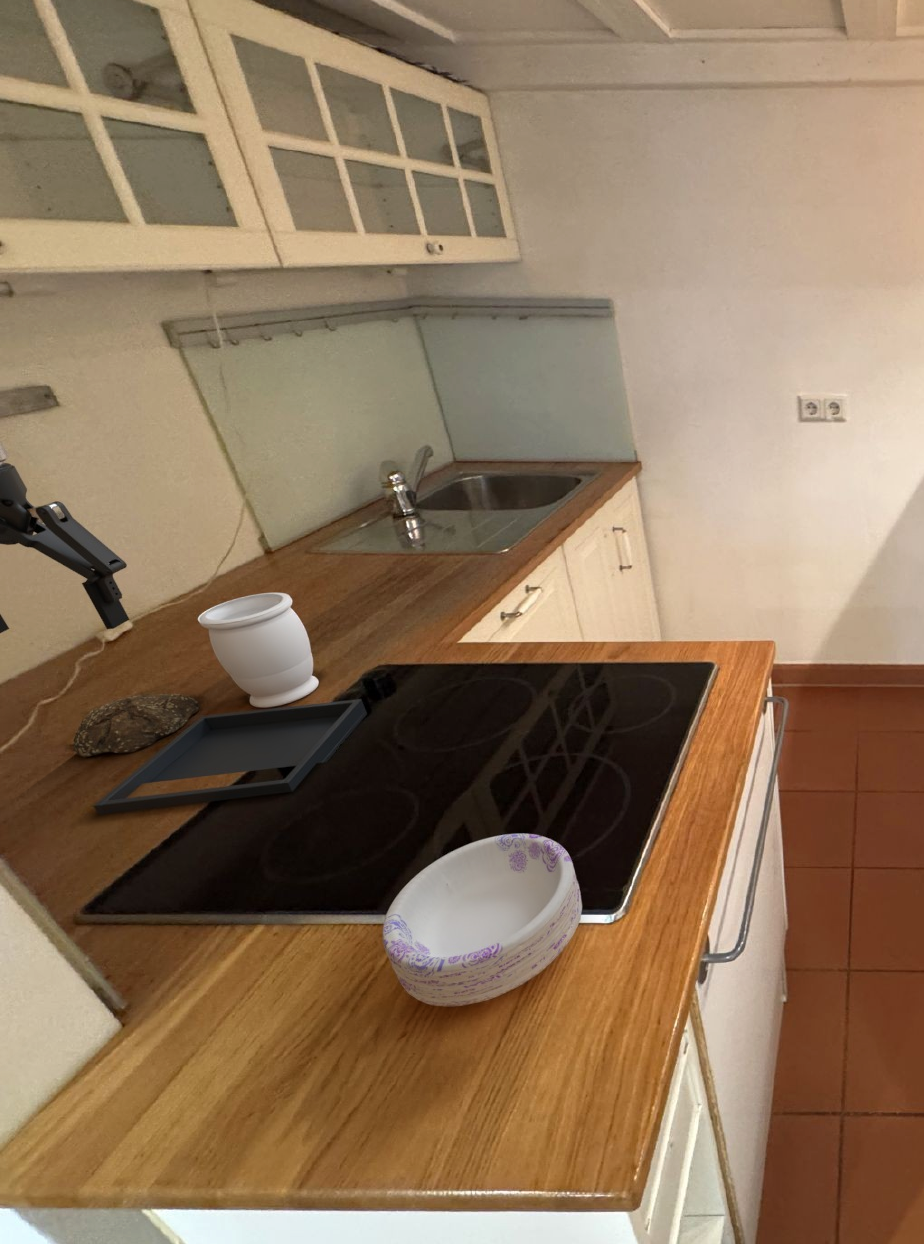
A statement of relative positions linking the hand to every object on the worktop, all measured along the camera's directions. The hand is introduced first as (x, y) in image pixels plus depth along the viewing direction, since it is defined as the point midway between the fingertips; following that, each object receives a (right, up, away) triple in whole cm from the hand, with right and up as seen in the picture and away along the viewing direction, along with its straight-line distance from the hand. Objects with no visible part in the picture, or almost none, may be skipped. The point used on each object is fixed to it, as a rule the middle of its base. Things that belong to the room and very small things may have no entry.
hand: (58, 629), depth 90 cm
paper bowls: (+71, -30, -25) cm, 81 cm away
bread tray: (+24, -18, +2) cm, 30 cm away
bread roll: (+1, -15, +9) cm, 17 cm away
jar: (+15, -11, +17) cm, 25 cm away
